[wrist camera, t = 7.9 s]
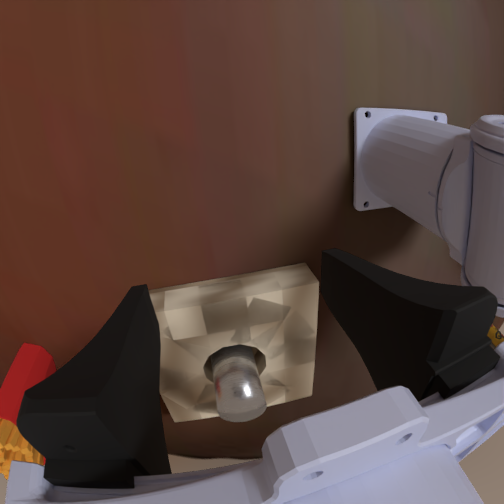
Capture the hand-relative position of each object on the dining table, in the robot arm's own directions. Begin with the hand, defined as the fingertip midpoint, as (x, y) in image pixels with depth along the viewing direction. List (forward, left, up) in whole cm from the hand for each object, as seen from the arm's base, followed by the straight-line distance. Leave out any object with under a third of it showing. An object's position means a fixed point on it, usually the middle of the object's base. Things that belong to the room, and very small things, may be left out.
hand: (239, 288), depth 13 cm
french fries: (+20, +13, -11) cm, 26 cm away
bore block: (0, +13, -10) cm, 17 cm away
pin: (0, +13, -10) cm, 16 cm away
